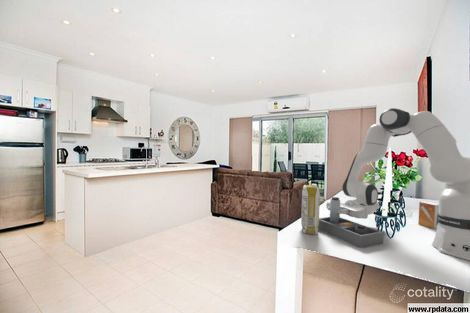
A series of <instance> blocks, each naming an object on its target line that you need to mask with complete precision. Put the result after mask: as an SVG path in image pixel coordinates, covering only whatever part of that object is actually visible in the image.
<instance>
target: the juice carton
mask: <svg viewBox="0 0 470 313" xmlns="http://www.w3.org/2000/svg"><path fill="white" fill-rule="evenodd" d="M320 197H321V193H320V188H319V187H318V184H316V183H311V185H309V184H304V185H303V186H302V191H301V216H300V217H301V218H300V220H301V221H300V222H301V228H302V232H303V234H308V235H318V234H319V230H320V229H319V218H320V204H321V202H320V201H321V198H320Z"/></svg>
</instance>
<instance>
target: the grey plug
mask: <svg viewBox="0 0 470 313" xmlns="http://www.w3.org/2000/svg"><path fill="white" fill-rule="evenodd" d="M329 202H330V210H329V217H330V223H332V224H338V223H339V220H340V218H341V217H340V215H341V214H339V213H337V210H340V203H341V200H340V197H337V196H332V197H331V198H330V201H329Z"/></svg>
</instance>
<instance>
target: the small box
mask: <svg viewBox="0 0 470 313" xmlns="http://www.w3.org/2000/svg"><path fill="white" fill-rule="evenodd" d="M418 205H419V206H418V225H421V226H424V227H426V228H430V229H433V230H437V213H438V212H439V203H436V202H430V201H427V200H426V201H425V200H424V201H419V204H418Z"/></svg>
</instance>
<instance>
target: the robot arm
mask: <svg viewBox="0 0 470 313" xmlns="http://www.w3.org/2000/svg"><path fill="white" fill-rule="evenodd" d="M411 133H412V134H413V135H414V137H415V138H416V140H417V141H418V143H419V144H420V145H421V147H422V148H423V150H424V152H425V153H426V156H427V158H428V161H429V164H430V167H429V173H430V175H431V177H432V178H433V179H434V180H437V182H440V183H444V187H443V190H442V191H441V193H440V194H439V196H438V204H439V212H438V213H437V229H436V231H435V236H434V238H433V241H432V243H431V245H432V246H433V247H434V248H435V249H437V250H438V251H439V253H443V254H446V255H449V256H452V257H455V258H456V257H457V258H460V259H463V260H466V261H469V262H470V157H468V156H467V157H466V156H465V157H464V156H463V155H462V154H461V152H460V150H459V148H458V146H457V140H456V138H455V137H454V135H453V134H452V133H451V132H450V131H449V130H448V128H447V127H446V126H445V124H444V123H443V122H442V121H441V120H440V119H439V118H438V117H437V116H436V115H435V114H434V113H433V112H431V111H428V110H423V111H418V112H416V113H414V114H410V112H408V111H405V110H402V109H401V108H392V107H391V108H388V109H385V110H384V111H383V112H382V113H381V114H380V116H379V123H378V124H377V123H375V124H372V125H371V126H370V127H369V128H368V130H367V132H366V135H365V138H364V142H363V145H362V147H361V150H360V151H359V152H358V153H356V155H355V156H354V158H353V161H352V162H351V165H350V168H349V170H348V174H347V176H346V178H345V180H344V181H343V184H342V186H341V187H342V192H343V194H344V195H345V196H347V197H351V198H355V199H348V200H346V201H345V202H340V210H337V213H339V214H340V215H346V216H348V217H351V218H356V219H363V220H364V219H368V217H369V215H373V214H375V213H377V211H378V210H379V208H380V205H379V202H378V198H379V191H378V188H377V187H376V185H375V184H373V183H368V182H364V181H359V180H358V179H359V177H360V173H361V172H362V169H363V168H364V166H365V165H368V164H370V163H374V162H378V161H380V160H381V159H383V158H384V157H385V155H386V153H387V150H388V145H389V141H390V138H391V137H395V138H396V137H401V136H406V135H409V134H411ZM326 209H327V210H328V211H330V201H327V202H326ZM377 209H378V210H377ZM376 210H377V211H376ZM374 212H375V213H374Z"/></svg>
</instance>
